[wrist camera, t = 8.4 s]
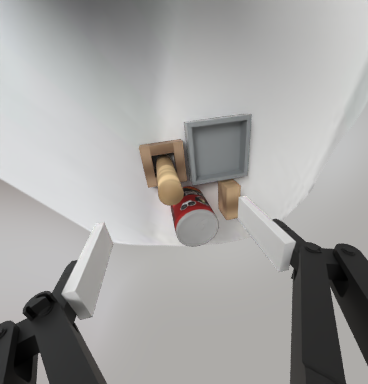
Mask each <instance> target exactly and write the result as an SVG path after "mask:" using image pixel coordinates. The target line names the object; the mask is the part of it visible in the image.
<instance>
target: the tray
mask: <svg viewBox="0 0 368 384" xmlns="http://www.w3.org/2000/svg"><path fill="white" fill-rule="evenodd" d="M251 116H252V114H240V115H232V116H225V117H218V118H210V119H203V120H196V121H188V122H184V128H185V138H186V147H187V157H188V167H189V176H190V181H191V183H192V185H198V184H204V183H210V182H216V181H221V180H227V179H233V178H238V177H244V176H248V162H249V146H250V131H251Z"/></svg>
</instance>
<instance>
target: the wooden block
mask: <svg viewBox="0 0 368 384" xmlns="http://www.w3.org/2000/svg"><path fill="white" fill-rule="evenodd" d="M240 190H241V186H240V185H239V184H238V183H237V182H236V181H234V180H233V179H227V180H221V181H218V201H219V210H220V211H221V213H222V214H223V216H224V217H225V219H226V220H230V219H235V218H238V201H239V197H240Z"/></svg>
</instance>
